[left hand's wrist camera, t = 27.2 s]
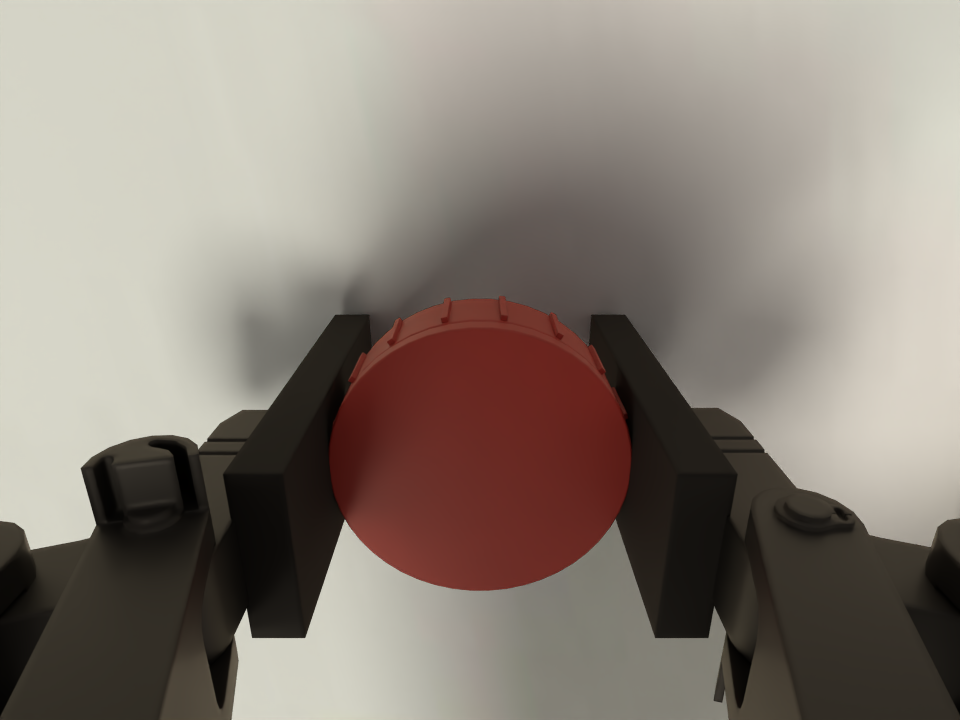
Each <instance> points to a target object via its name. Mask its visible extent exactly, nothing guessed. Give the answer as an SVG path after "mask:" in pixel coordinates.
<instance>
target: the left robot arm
mask: <svg viewBox="0 0 960 720" xmlns="http://www.w3.org/2000/svg"><path fill="white" fill-rule="evenodd" d="M590 345H592V346H593V347H594V348H595V350H596V352H597V354H598V356H599V358H600V361H601V363H602V365H603V367H604V369H605V371H606V372H605V373H604V374H605V376H606V378H607V380H608V382H609V384H610V386H611V388H612V387H615V389H616V392H617V394H618V396H619V398H620V400H621V402H622V404H623V406H624V408H625V410H626V412H627V415H628V419H625V420H626V423H627V426H628V429H629V434H630V439H631V444H632V458H631V468H630V478H629V486H628V491H627V494H626V498H625V500H624V502H623V505H622V507H621V509H620V512H619V514H618V515H617V517H616V521H617V524H618V527H619V530H620V533H621V536H622V539H623V542H624V545H625V548H626V551H627V554H628V557H629V560H630V563H631V566H632V569H633V572H634V575H635V578H636V581H637V584H638V587H639V590H640V593H641V596H642V599H643V602H644V605H645V608H646V611H647V614H648V617H649V620H650V624H651V627H652V630H653V633H654V636H655V638H708V637H709V631H710V626H711V620H712V615H713V609H714V606H715V609H716V611H717V613H718V615H719V617H720V619H721V621H722V623H723V626H724V628H725V630H726V637H725V642H724V647H723V652H722V657H721V663H720V668H719V673H718V678H717V683H716V689H715V695H714V701H717V702H722V701H723V696H724V691H725V692H726V701H727V709H728V717H729V720H960V519H953V520H947V521H946V522H944V523H943V524H941V525H940V526H939V527H938V528H937V531H936V534H935V537H934V540H933V543H932V546H931V547H926V546H921V545H915V544H910V543H905V542H900V541H894V540H889V539H884V538H879V537H875V536H871V535H869V534H868V532H867V530H866V528H865V526H864V524H863V523H862V522H861V520H860V519H859V518H858V517H857V516H856V514H855V513H854V512H853V511H851V510H850V509H848V508H847V507H845V506H844V505H842V504H841V503H839V502H838V501H836V500H833V499H831V498H828V497H826V496H823V495H821V494H819V493H816V492H811V491H807V490H802V489H798V488H796V487H795V486H794V484H793V483H792V482H791V481H790V480H789V478H788V477H787V476H786V475H785V474H784V472H783V471H782V470H781V469H780V468H779V466H778V465H777V464H776V463H775V462H774V461H773V459H772V458H771V457H770V456H769V455H768V453H765V452H764V449H763V447H762V446H761V445H760V444H759V443H758V441H757V440H754V437H753V435H752V434H751V433H750V432H749V431H748V429H747V428H746V427H745V426H744V425H743V423H742V422H741V421H739V420H738V419H736V418H734V417H733V416H731V415H729V414H727V413H726V412H724V411H722V410H721V409H719V408H691V407H690V406H689V404H688V403H687V402H686V400H685V399H684V397H683V396H682V394H681V393H680V392H679V390H678V389H677V387H676V386H675V385H674V383H673V382H672V380H671V379H670V378H669V376H668V375H667V373H666V372H665V370H664V369H663V368H662V366H661V365H660V363H659V362H658V361H657V359H656V358H655V356H654V355H653V354H652V352H651V351H650V349H649V348H648V346H647V345H646V344H645V342H644V341H643V339H642V338H641V337H640V335H639V334H638V332H637V331H636V330H635V328H634V327H633V325H632V324H631V322H630V321H629V320H628V318H627V317H626V315H591V328H590V342H589V346H590ZM370 350H371V335H370V321H369V315H335V316H334V317H333V319H332V320H331V322H330V323H329V325H328V326H327V327H326V329H325V330H324V332H323V333H322V334H321V336H320V337H319V339H318V340H317V341H316V343H315V344H314V346H313V347H312V349H311V350H310V351H309V353H308V354H307V356H306V357H305V358H304V360H303V361H302V363H301V364H300V366H299V367H298V368H297V370H296V371H295V373H294V374H293V375H292V377H291V378H290V380H289V381H288V382H287V384H286V385H285V387H284V388H283V390H282V391H281V392H280V394H279V395H278V397H277V398H276V399H275V401H274V402H273V404H272V405H271V406H270V408H269V409H268V410H242V411H240V412H239V413H237V414H235V415H233V416H232V417H230V418H228V419H227V420H225V421H223V422H222V423H220V424H219V425H218V427H217V428H216V429H215V430H214V431H213V433H212V434H211V435H210V436H209V437H208V439H207V442H204V444H203V445H202V446H201V447H200V448H199V450H198V446H197V444H195V443H194V442H193V441H191V440H190V439H188V438H184V437H179V436H174V435H162V436H149V437H143V438H138V439H133V440H129V441H126V442H123V443H120V444H118V445H115V446H112V447H109V448H107V449H106V450H104V451H102V452H100V453H98V454H97V455H95V456H93V457H92V458H91V459H90V460H89V461H88V462H87V463H86V464H85V465H84V466H83V467H82V468H81V471H82V475H83V478H84V482H85V486H86V489H87V493H88V496H89V500H90V504H91V507H92V511H93V514H94V518H95V522H96V527H95V529H94V531H93V533H92V535H91V537H90V538H88V539H84V540H80V541H75V542H70V543H65V544H60V545H55V546H49V547H44V548H39V549H34V550H30V547H29V544H28V541H27V538H26V535H25V532H24V530H23V529H22V528H21V527H19V526H18V525H16V524H15V523H11V522H3V521H0V720H231V719H232V710H233V702H234V694H235V686H236V677H237V669H238V661H239V660H238V654H237V647H236V642H235V637H234V634H235V632H236V630H237V628H238V626H239V624H240V621H241V619H242V617H243V615H244V613H245V611H246V609H247V612H248V617H249V623H250V628H251V634H252V638H305V637H306V634H307V631H308V628H309V625H310V622H311V619H312V616H313V613H314V610H315V607H316V604H317V601H318V598H319V595H320V592H321V589H322V586H323V583H324V580H325V577H326V574H327V571H328V568H329V565H330V562H331V559H332V556H333V553H334V550H335V547H336V544H337V541H338V538H339V535H340V532H341V529H342V526H343V523H344V520H345V518H344V516H343V515H342V513H341V511H340V509H339V506H338V504H337V501H336V499H335V497H334V493H333V489H332V483H331V474H330V464H329V441H330V436H331V431H332V426H333V422H334V420H335V418H336V415H337V413H338V410H339V408H340V406H341V404H342V402H343V400H344V397H345V395H346V393H347V391H348V389H349V387H350V385H351V382H349V381H348V380H349V378H350V376H351V374H352V372H353V370H354V368H355V366H356V364H357V362H358V359H359V357H360V356H361V354H362V353H365V354H366V355H367V354H368V352H369V351H370Z"/></svg>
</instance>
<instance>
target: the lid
mask: <svg viewBox="0 0 960 720" xmlns="http://www.w3.org/2000/svg"><path fill="white" fill-rule="evenodd" d="M605 372H606V371H605V369H604V367H603V365H602V363H601V361H600V358H599V356H598V354H597V352H596V350H595V348H594V347H593V346H592V345H590V346H588V347H587V345H586V344H585V343H584V342H583V341H582V340H581V339H580V338H579V337H578V336H577V335H576V334H575V333H574V332H572V331H571V330H570V329H568V328H567V327H566V326H565V325H563V324H562V323H561V322H559V321H558V319H557V316H556V314H554V313H552V312H551V313H550V315H547V314H545V313H543V312H540V311H538V310H535V309H533V308H531V307H528V306H525V305H521V304H517V303H513V302H510V301H506V298H505V297H504V296H499V300H495V299H466V300H457V301H451V299H450V298H446V299H444V303H443V304H439V305H435V306H432V307H430V308H427V309H425V310H422V311H420V312H417V313H415V314H414V315H412V316H410V317H408V318H406V319H405V320H403V321H402V319H401V318H398V319H397V320H395V322H394V325H393V327H392V329H390V330H389V331H388V332H387V333H386V334H385V335H384V336H383V337H382V338H381V339H379V340H378V341H377V342H376V343H375V344H374V346H373V347H372V348H371V350H370V351H369V352H368V354H367V355H366V354H365V353H362V354H361V356H360V357H359V359H358V362H357V364H356V366H355V368H354V370H353V372H352V374H351V376H350V378H349V380H348V381H349V382H351V385H350V387H349V389H348V391H347V393H346V395H345V397H344V400H343V402H342V404H341V406H340V408H339V410H338V413H337V415H336V418H335V420H334V422H333V426H332V431H331V436H330V441H329V464H330V474H331V483H332V489H333V493H334V497H335V499H336V501H337V504H338V506H339V509H340V511H341V513H342V515H343V516H344V518H345V520H346V521H347V523H348V525H349V526H350V528H351V529H352V530H353V532H354V533H355V534H356V535H357V537H358V538H359V539H360V540H361V541H362V542H363V543H364V544H365V545H366V546H367V547H368V548H369V549H370V550H371V551H372V552H373V553H374V554H376V555H377V556H378V557H379V558H381V559H382V560H383V561H385V562H386V563H388V564H389V565H391V566H393V567H394V568H396V569H398V570H399V571H401V572H403V573H405V574H407V575H410V576H412V577H414V578H416V579H419V580H422V581H425V582H428V583H431V584H434V585H438V586H443V587H447V588H452V589H461V590H472V591H489V590H499V589H508V588H513V587H517V586H522V585H526V584H529V583H532V582H535V581H539V580H542V579H544V578H546V577H548V576H551V575H553V574H555V573H557V572H559V571H561V570H563V569H564V568H566V567H568V566H569V565H571V564H573V563H574V562H575V561H577V560H578V559H579V558H581V557H582V556H583V555H585V554H586V553H587V552H588V551H589V550H590V549H591V548H592V547H593V546H595V545H596V544H597V543H598V542H599V541H600V539H601V538H602V537H603V536H604V534H605V533H606V532H607V531H608V529H609V528H610V527H611V525H612V523H613V522H614V520H615V519H616V517H617V515H618V514H619V512H620V509H621V507H622V505H623V502H624V500H625V498H626V494H627V491H628V486H629V478H630V468H631V458H632V444H631V439H630V434H629V429H628V426H627V423H626V420H625V419H628V415H627V412H626V410H625V408H624V406H623V404H622V402H621V400H620V398H619V396H618V394H617V392H616V389H615V387H612V388H611V386H610V384H609V382H608V380H607V378H606V376H605V374H604V373H605Z"/></svg>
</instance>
